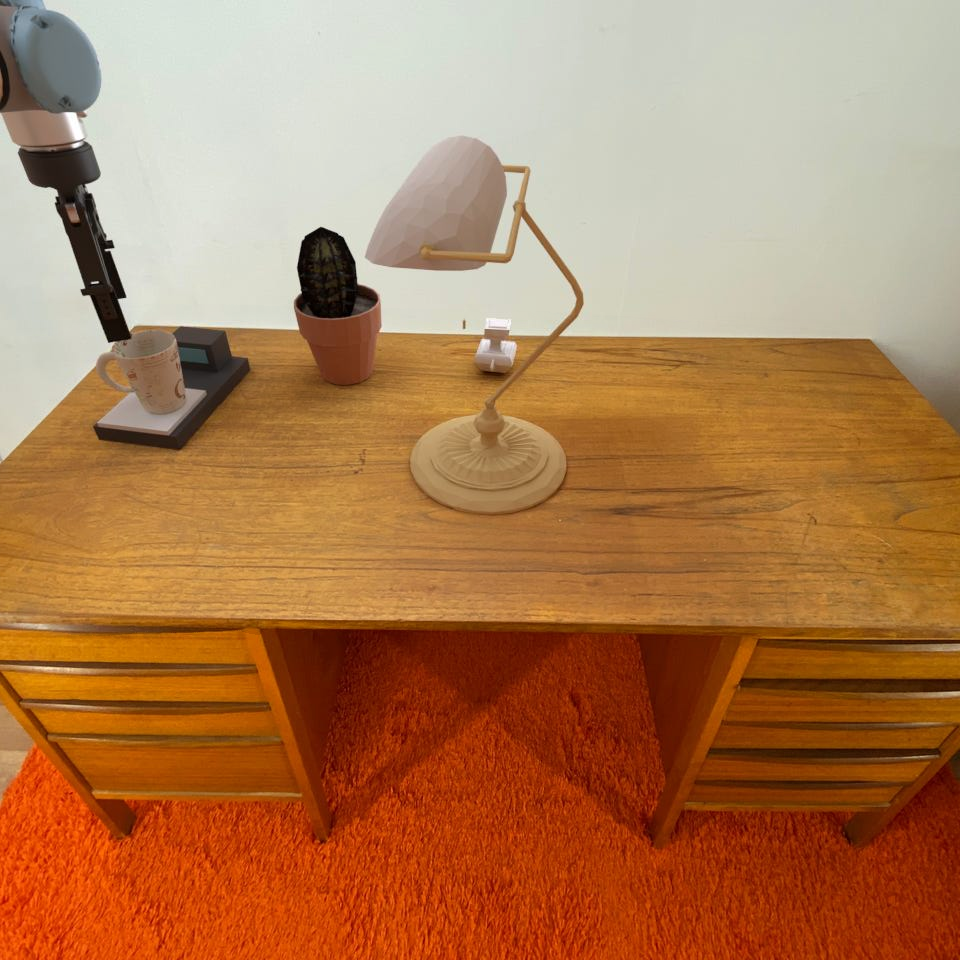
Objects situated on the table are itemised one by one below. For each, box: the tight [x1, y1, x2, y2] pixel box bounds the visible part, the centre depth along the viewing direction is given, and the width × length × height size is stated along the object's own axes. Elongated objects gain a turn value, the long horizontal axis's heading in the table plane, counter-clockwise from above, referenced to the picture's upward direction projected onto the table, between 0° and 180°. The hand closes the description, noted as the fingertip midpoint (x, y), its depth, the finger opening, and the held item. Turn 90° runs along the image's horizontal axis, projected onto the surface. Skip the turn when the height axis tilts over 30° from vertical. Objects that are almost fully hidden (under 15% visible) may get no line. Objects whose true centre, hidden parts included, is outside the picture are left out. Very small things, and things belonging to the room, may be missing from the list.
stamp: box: [473, 317, 518, 374], centre depth 109 cm, size 9×7×8 cm
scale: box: [92, 325, 252, 451], centre depth 100 cm, size 23×13×7 cm, turn 170°
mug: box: [95, 329, 186, 414], centre depth 93 cm, size 8×13×10 cm, turn 91°
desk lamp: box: [364, 135, 585, 516], centre depth 79 cm, size 31×23×40 cm
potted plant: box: [293, 226, 383, 386], centre depth 102 cm, size 14×14×25 cm
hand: (117, 318), depth 86 cm, fingers open, 13 cm apart
